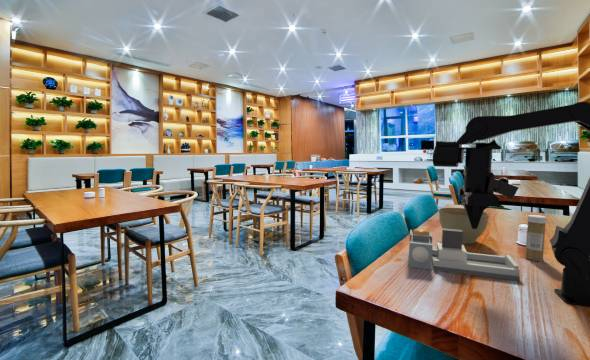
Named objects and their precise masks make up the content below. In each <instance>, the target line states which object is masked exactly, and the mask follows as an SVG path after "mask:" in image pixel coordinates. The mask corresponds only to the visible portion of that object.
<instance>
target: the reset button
mask: <svg viewBox="0 0 590 360" xmlns="http://www.w3.org/2000/svg"><path fill="white" fill-rule="evenodd" d="M413 230H414V234H415V235H425V236H428V231H429V230H427V229H422V228H415V229H413Z"/></svg>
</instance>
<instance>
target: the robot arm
mask: <svg viewBox="0 0 590 360" xmlns="http://www.w3.org/2000/svg"><path fill="white" fill-rule="evenodd" d="M569 123H575V124H577V125H579V126H580V127H583V128H584V129H586V130H587V131H588V132H590V102H587V101H579V102H575V103H573V104H568V105H567V104H566V105H563V106H561V105H560V106H558V107H557V106H556V107H551V108H545V109H541V110H535V111H529V112H524V113H518V114H511V115H481V116H475V117H473V118H471V119H470V120H469V121H468V122H467V124H466V126H465V131H464V133H463V134H462V135H461V136H460V137H459V138H458V139H457V141H442V140H436V141H435V146H434V149H433V153H432V165H433V166H434V167H444V168H445V167H446V168H448V167H449V168H451V167H452V168H458V167H459V164H463V163H464V170H463V171H462V172H463V174H462V175H464V177H463V179H464V181H463V185H461V186H460V187H459V188H458V191H457V193H458V194H457V195H458V197H462V196H464V198H461V199H460V201H461V203H462V206H463V208H464V209H465V211H466V214H467V217H468V219H469V222H470V225H471V227H472V229H477V227H478V225H479V222H480V219H481V216H482V214H483V212H485V210H486V209H488V208H489V207H491V208H499V205H500V198H499V197H498V196H497V195H496V194H499V195H502V196H503V197H507V198H508V199H511V200H514V197H515V195H516V194H517V191H518V190H519V187H518V186H517V185H514V184H511V183H509V179H508V178H504V177H502V176H501V177H499V178H497V179H496V178H495V174H494V173H493V172H492V161H493V150H501V149H502V146H501V145H499V144H498V143H497V140H496V139H493V138H496V137H500V136H503V135H505V134H509V133H512V132H517V131H523V130H530V129H536V128H544V127H549V126H555V125H556V126H557V125H561V124H562V125H563V124H569ZM490 139H492V140H491V141H490V142H482V141H487V140H490ZM478 141H479V142H478ZM480 141H481V142H480ZM475 142H477V143H476V144H475V146H472V147H471V146H469V145H471V144H473V143H475ZM464 145H465V146H466V147H463V146H464ZM467 146H469V147H467ZM464 152H465V153H464ZM464 154H465V156H464ZM464 157H465V162H464ZM494 193H496V194H494ZM549 243H550V245H551V249H552V253H553V255H554V259H556V262H558V263H559V264H560V265H562V266H563V268H562V273H561V275H562V276H561V287H560V288H554V291H553V292H555V293H556V295H558V297H560V298H561V299H562V300H563V302H565V303H568V304H572V305H581V306H586V307H590V177H589V179H588V180H587V182H586V185H585V187H584V189H583V192H582V194H581V197H580V198H579V200H578V203H577V205H576V207H575V210H574V212H573V213H572V217H571V219H570V221H569V222H568V223H567V224H565V226H564V227H561V226H559V225H556V227H555V230H554V235H553V236H552V237H551V238H550V239H549Z"/></svg>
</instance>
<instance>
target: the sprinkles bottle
mask: <svg viewBox="0 0 590 360" xmlns="http://www.w3.org/2000/svg"><path fill="white" fill-rule="evenodd" d="M526 222H527V231H526V241H525V255H524V257H525V259H526V260H530V261H534V262H543V261H544V250H545V241H546V240H545V238H546V236H545V235H546V224H547V216H544V215H539V214H528V215H527V220H526Z"/></svg>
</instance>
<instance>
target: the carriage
mask: <svg viewBox="0 0 590 360" xmlns="http://www.w3.org/2000/svg"><path fill="white" fill-rule="evenodd" d="M441 228H442V227H441ZM441 231H442V232H441V242H437V244H436V245H437V246H436V249H437V259H438V260H446V261H454V262H463V263H466V260H467V252H468V251H467V250H466V248H465V244H462V235H463V232H462V230H458V229H446V228H442V230H441Z"/></svg>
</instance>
